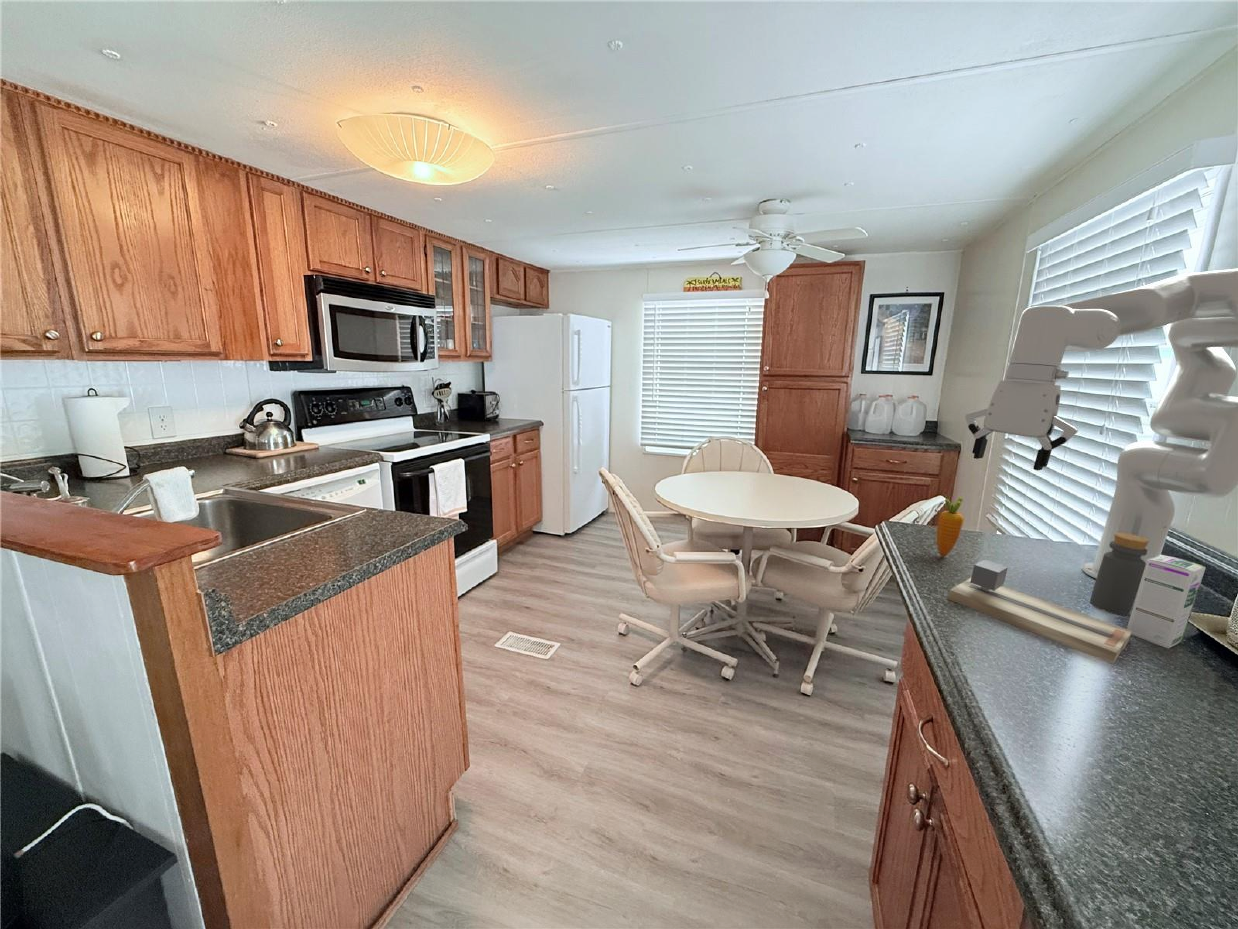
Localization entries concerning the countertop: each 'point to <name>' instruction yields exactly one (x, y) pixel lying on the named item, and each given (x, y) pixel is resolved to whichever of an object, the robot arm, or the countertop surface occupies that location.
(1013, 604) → the fader board
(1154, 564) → the syrup box
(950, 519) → the carrot
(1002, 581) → the fader knob
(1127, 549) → the bottle
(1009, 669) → the countertop surface
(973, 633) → the countertop surface
